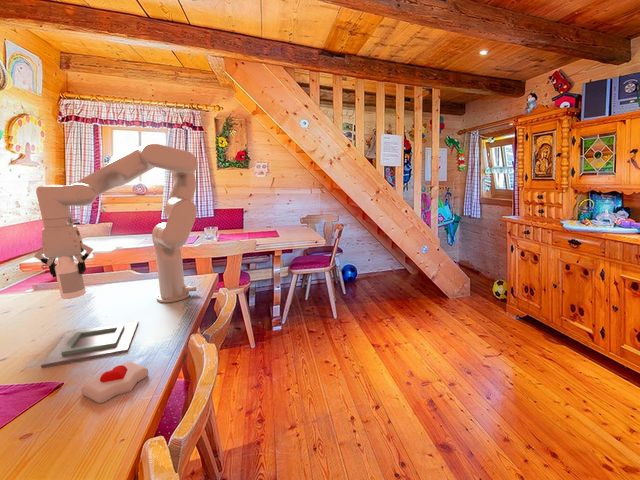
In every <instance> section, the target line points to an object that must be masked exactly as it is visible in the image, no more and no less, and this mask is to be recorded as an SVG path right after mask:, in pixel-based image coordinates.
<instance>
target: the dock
mask: <svg viewBox="0 0 640 480" xmlns="http://www.w3.org/2000/svg"><path fill="white" fill-rule="evenodd" d="M138 325H139V321H138V320H136V321H129V322H124V323H118V324H110V325H104V326H99V327H98V326H96V327H91V328H90V327H89V328H86V329H85V328H83V329H79V330H77V329H76V330H72V331H67V332H66V333H65V334H64V336H63V337H62V339H61V340H60V341H59V342H58V343H57V344H56V346H55V347H54V348H53V349H52V351H51V352H50V353H49V354H48V356H47V357H46V358H44V361H43V362H42V363H41V365H40V367H41V368H47V367H51V366H53V367H54V366H57V365H62V364H63V365H64V364H68V363H69V364H70V363H74V362H80V361H84V360H85V361H86V360H92V359H95V358H96V359H97V358H101V357H102V358H103V357H107V356H112V354H114V355H118V354H117V353H119V354H123V353H122V352H124V353H128V352H129V350H130V347H131V344H132V342H133V339H134V335H135V334H136V332H137V328H138Z"/></svg>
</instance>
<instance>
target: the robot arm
mask: <svg viewBox="0 0 640 480" xmlns="http://www.w3.org/2000/svg"><path fill="white" fill-rule="evenodd" d="M198 163H199V161H198V159H197V157H196V156H195V155H194V154H193V153H191V152H190V151H187V150H182V149H179V148H175V147H171V146H167V145H163V144H160V143H155V142H152V143H151V142H150V143H146V144H142V145H140V146H139V147H137V148H135V149H133V150H131V151H130V152H128V153H126V154H124V155H122V156H120V157H118V158H117V159H115V160H113V161H110V162H109V163H107V164H106V165H103V167H101V168H99V169H98V170H96V171H94V172H92V173H90V174H88V175H86V176H85V177H82V178H81V179H79V180H77V181H75V182H73V183H72V184H68V185H61V184H50V185H48V184H47V185H40V186H37V187H36V189H35V192H36V198H37V201H38V206H39V210H40V216H41V218H42V224H43V228H42V229H41V245H42V248H41V249H39V251H38V252H37V253H35V255H34V258H35V259H37V260H39V261H40V262H41V263H43V264H45V265H46V266H47V267H48V268H49V269H48V270H49V274H50V275H52V278H57V276H56V272H55V266H56V265H58V264H57V263H55V261H56V259H58V258H59V257H63V256H67V257H69V256H73V257H74V258H75V259H76V260H77V262H79V263H78V268H79V273H80V274H82V275H83V274H84V273H85V272H86V271H87V266H86V262H85V261H86V259H88V258H89V256H90V255H91V254H92V252H93V251H94V248H92V247H90V246H89V245H86V244H84V242H83V239H82V235H81V233H80V230H79V227H78V226H77V225H75V223H78V219H77V218H75V217H74V218H73V216H72V213H71V209H70V207H87V206H91V205H92V204H93V203H95V201H96V199H97V197H99V196H100V195H102V194H104V193H106V192H108V191H109V190H112V189H114V188H117V187H120V186H124V185H126V184H128V183H130V182H133V180H135V179H137V178H139V177H140V176H141V175H143V174H144V175H145V173H147V172H149V171H150V170H152V169H154V168H157V169H158V168H159V169H163V170H166V171H170V172H171V174H172V177H173V184H172V187H171V190H170V192H169V195H168V197H167V200H166V203H165V205H164V208H163V211H164V215H165V217H166V218H167V221H163V222H161V223H158V224H156V225H155V226H154V228H153V229H152V233H151V238H152V239H151V241H152V244H153V248H154V253H155V258H156V259H155V260H156V268H157V276H158V283H159V284H158V286H159V294H157V295H156V301H157V302H159V303H164V304H165V303H174V302H175V303H177V302H179V301H183V300H185V299H187V298H189V296H190V292H197V291H198V289H197V286H194V285H186V284H187V283H186V282H185V275H184V267H183V266H184V264H183V255H182V254H183V253H182V247H183V246H185V244H186V243H187V242H188V240H189V237H190V234H191V232H192V230H193V227H194V224H195V222H196V218H197V214H198V213H197V212H198V211H197V206H196V205H195V203H194V202H193V197H194V195H195V192H196V188H197V180H196V176H195V171H196V170H197V169H198V166H199V164H198ZM84 251H85V253H84ZM82 253H84V254H82Z"/></svg>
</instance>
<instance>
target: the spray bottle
mask: <svg viewBox="0 0 640 480" xmlns="http://www.w3.org/2000/svg"><path fill="white" fill-rule="evenodd" d="M74 258H75V257H74V256H69V257H67V256H63V257H59V258H57V261H58V264H57V265H56V266H55V272H56V281H57V285H58V290H59V293H60V298H61V299H63V300H71V299H76V298H80V297H82V296H84V295H86V293H87V292H86V287H85V283H84V281H85V280H84V278H83V274H80V273H79V268H78V263H79V261H75V259H74Z"/></svg>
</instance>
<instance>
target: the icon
mask: <svg viewBox="0 0 640 480" xmlns="http://www.w3.org/2000/svg"><path fill="white" fill-rule="evenodd" d="M148 375H149V369H148V368H147V367H145V366H143V365H141V364H137V363H135V362H134V361H125V363H122V364H120V365H117V366H115V367H113V368H112V369H110V370H107V371H105V372H103V374H101V375H99V376H98V377H96V378H94V379H92V380H89V381H88V382H86V383H84V384H83V385H82V386H81V390H80V391H81V394H82V395H83V396H85V397H86V398H89V399H91V400H92V401H94V402H96V403H97V404H103V403H106V402H107V401H109V400H110V399H112V398H114V397H116V396H118V395H122V394H126V393H129V392H131V391H132V390H133V389H134V387H135V385H136V384H138V383H140V382H141V381H142V379H143V380H145V379H146V378H147V377H148ZM137 382H138V383H137Z"/></svg>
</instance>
